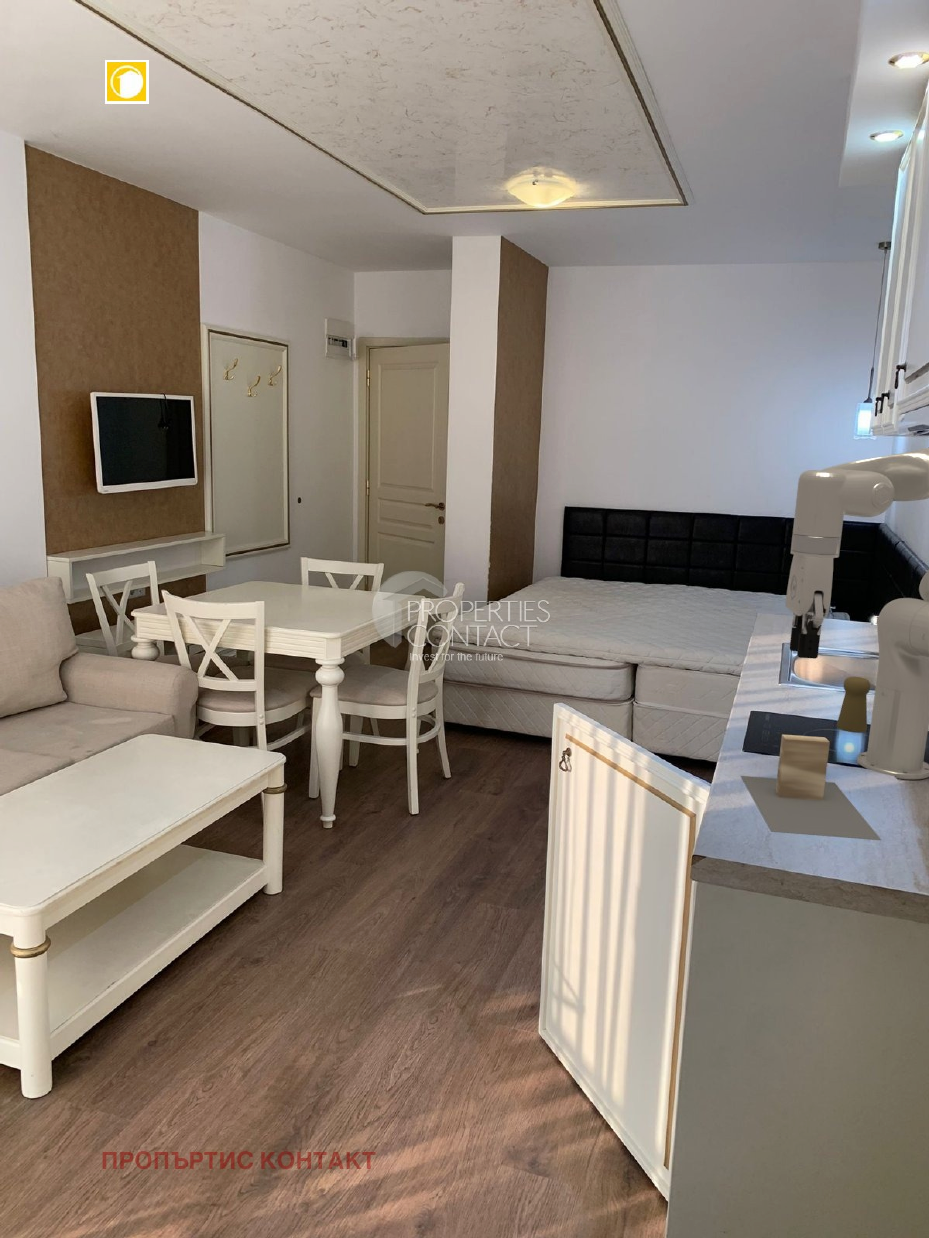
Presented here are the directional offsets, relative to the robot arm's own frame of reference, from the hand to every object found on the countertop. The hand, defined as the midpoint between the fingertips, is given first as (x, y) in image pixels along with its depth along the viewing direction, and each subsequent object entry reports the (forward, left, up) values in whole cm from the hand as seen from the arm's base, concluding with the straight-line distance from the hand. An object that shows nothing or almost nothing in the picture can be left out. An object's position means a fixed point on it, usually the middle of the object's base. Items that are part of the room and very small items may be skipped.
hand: (803, 653), depth 157 cm
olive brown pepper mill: (-38, +22, -24) cm, 50 cm away
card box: (+7, 0, -23) cm, 24 cm away
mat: (+11, 0, -23) cm, 26 cm away
